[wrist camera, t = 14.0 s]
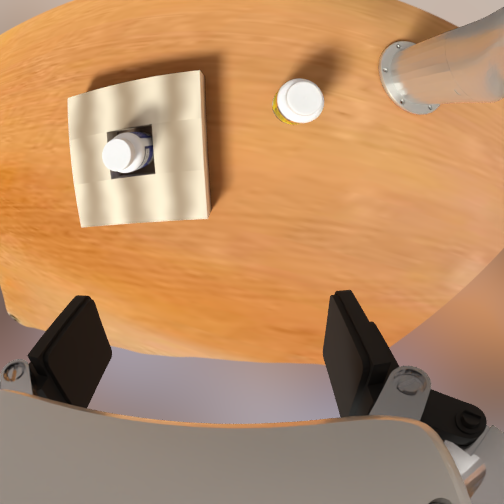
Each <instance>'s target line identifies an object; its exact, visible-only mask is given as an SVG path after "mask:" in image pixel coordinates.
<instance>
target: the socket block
mask: <svg viewBox="0 0 504 504" xmlns="http://www.w3.org/2000/svg"><path fill="white" fill-rule="evenodd" d="M68 125H69V141H70V153H71V163H72V172H73V180H74V187H75V194H76V200H77V206H78V212H79V217H80V223H81V227H92V226H104V225H116V224H129V223H143V222H158V221H175V220H192V219H208V217H209V215H210V212H211V196H210V181H209V164H208V146H207V126H206V101H205V76H204V75H203V74H202V72H201V71H200V70H197V71H188V72H180V73H173V74H166V75H160V76H154V77H149V78H144V79H139V80H134V81H129V82H124V83H120V84H116V85H112V86H108V87H104V88H100V89H97V90H93V91H89V92H86V93H83V94H79V95H76V96H73V97H70V98H68ZM126 132H146V133H148V134H150V135H151V136H152V137H153V150H154V160H153V161H152V162H151V163H150V164H149V165H147V166H145V167H143V168H140V169H138V170H135V171H132V172H129V173H121V172H118V171H112V170H110V169H108V168H107V167H106V166H105V164H104V163H103V159H102V152H103V149H104V147H105V145H106V144H107V143H108V142H109V141H110V140H112V139H113V138H114V137H116V136H117V135H119V134H121V133H126Z"/></svg>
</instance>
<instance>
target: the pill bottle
mask: <svg viewBox="0 0 504 504" xmlns="http://www.w3.org/2000/svg"><path fill="white" fill-rule="evenodd" d="M102 159H103V163H104V164H105V166H106V167H107V168H108V169H110V170H112V171H118V172H121V173H129V172H132V171H135V170H138V169H140V168H143V167H145V166H147V165H149V164H150V163H151V162H152V161H153V160H154V150H153V137H152V136H151V135H150V134H148V133H146V132H126V133H121V134H119V135H117V136H116V137H114V138H113V139H112V140H110V141H109V142H108V143H107V144H106V145H105V147H104V149H103V152H102Z"/></svg>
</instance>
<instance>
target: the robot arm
mask: <svg viewBox="0 0 504 504" xmlns="http://www.w3.org/2000/svg"><path fill="white" fill-rule="evenodd" d="M383 70H384V71H385V72H384V71H383ZM379 75H380V80H381V83H382V85H383V87H384V89H385V91H386V93H387V94H388V96H389V97H390V99H391V100H392V101H393V102H394V103H395V104H396V105H397V106H399V107H400V108H401V109H403V110H405V111H407V112H409V113H413V114H428V113H431V112H433V111H434V110H436V109H437V108H438V107H439V106H440V104H446V103H491V102H496V101H499V100H501V99H503V98H504V7H503V8H501V9H499V10H497V11H496V12H494V13H492V14H490V15H489V16H487V17H485V18H483V19H481V20H478V21H476V22H473V23H470V24H468V25H465V26H462V27H459V28H456V29H454V30H451V31H448V32H445V33H443V34H440V35H437V36H435V37H432V38H430V39H427V40H425V41H422V42H420V43H417V44H415V43H412V42H408V41H399V42H395V43H393V44H391V45H389V46H388V47H387V48H386V49H385V50H384V51H383V53H382V54H381V57H380V60H379ZM400 101H401V103H400ZM28 357H29V359H30V361H31V362H30V363H29V364H28V363H27V362H26V361H25V360H22V359H17V360H13V361H11V362H9V363H8V364H7V365H6V366H5V367H4V368H3V369H2V372H1V375H0V504H504V432H502V431H501V430H499V429H498V428H496V427H495V426H494V425H492V426H491V427H488V426H487V425H486V417H485V415H484V413H483V412H482V411H481V410H480V409H479V408H478V407H476V406H474V405H472V404H469V403H466V402H463V401H460V400H458V399H455V398H452V397H450V396H447V395H444V394H442V393H439V392H437V391H434V390H431V381H430V378H429V376H428V375H427V374H426V373H425V372H424V371H423V370H421V369H419V368H417V367H413V366H401V367H399V365H398V363H397V361H396V360H395V358H394V356H393V354H392V353H391V351H390V349H389V347H388V345H387V343H386V342H385V340H384V338H383V336H382V335H381V333H380V331H379V330H378V328H377V326H376V325H375V323H374V322H369V320H368V318H367V317H366V315H365V313H364V311H363V310H362V308H361V306H360V305H359V303H358V301H357V299H356V298H355V296H354V294H353V293H352V291H351V290H344V291H336V292H335V295H331V296H330V301H329V309H328V317H327V325H326V332H325V339H324V346H323V357H324V361H325V364H326V368H327V371H328V374H329V378H330V381H331V385H332V388H333V391H334V395H335V399H336V402H337V406H338V409H339V413H340V417H341V418H329V419H320V420H310V421H299V422H282V423H262V424H211V423H190V422H189V423H188V422H175V421H165V420H155V419H147V418H139V417H132V416H125V415H119V414H113V413H107V412H102V411H97V410H92V409H87V407H88V405H89V403H90V400H91V398H92V396H93V394H94V392H95V390H96V388H97V386H98V384H99V382H100V379H101V377H102V375H103V373H104V371H105V369H106V367H107V365H108V363H109V361H110V359H111V357H112V350H111V347H110V344H109V342H108V339H107V337H106V334H105V331H104V328H103V326H102V323H101V320H100V317H99V314H98V311H97V308H96V305H95V302H94V300H92V299H91V298H90V297H89V296H79V295H78V296H75V297H74V299H73V300H72V301H71V302H70V303H69V304H68V306H67V307H66V308H65V309H64V310H63V311H62V313H61V314H60V315H59V316H58V317H57V319H56V320H55V321H54V322H53V323H52V325H51V326H50V327H49V328H48V330H47V331H46V332H45V333H44V335H43V336H42V337H41V338H40V340H39V341H38V342H37V343H36V345H35V346H34V347H33V349H32V350H31V351H30V353H29V354H28Z"/></svg>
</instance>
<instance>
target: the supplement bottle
mask: <svg viewBox="0 0 504 504" xmlns="http://www.w3.org/2000/svg"><path fill="white" fill-rule="evenodd" d="M323 107H324V97H323V94H322V92H321V90H320V89H319V87H318V86H317V85H316V84H314V83H313V82H311V81H309V80H306V79H292V80H290V81H288V82H286V83H285V84H284V85H283V86H282V87H281V88H280V89H279V91H278V92H277V93H276V95H275V96H274V98H273V101H272V109H273V112H274V114H275V116H276V117H277V118H278V119H279V120H280V121H282V122H284V123H286V124H301V123H307V122H310V121H312V120H314V119H316V118H317V117H318V116H319V115H320V114H321V112H322V110H323Z"/></svg>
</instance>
